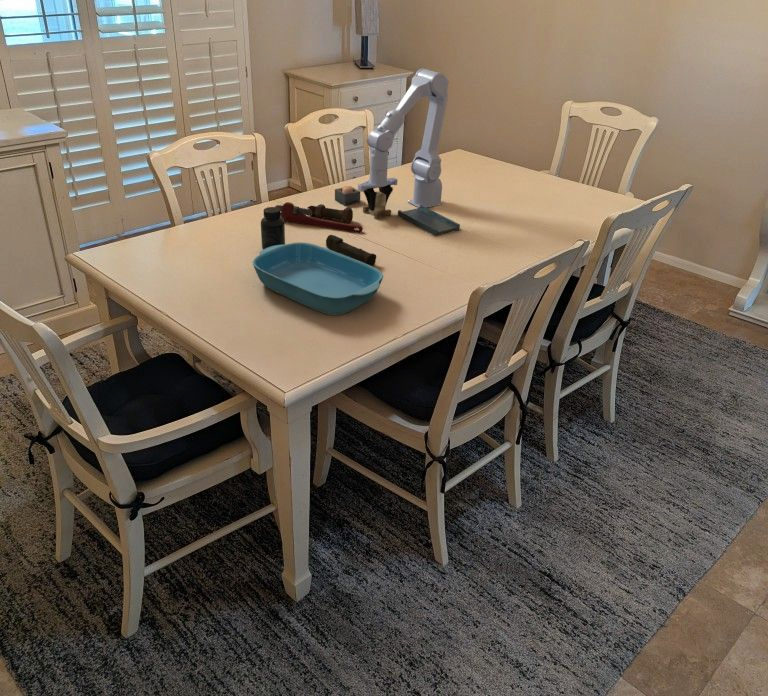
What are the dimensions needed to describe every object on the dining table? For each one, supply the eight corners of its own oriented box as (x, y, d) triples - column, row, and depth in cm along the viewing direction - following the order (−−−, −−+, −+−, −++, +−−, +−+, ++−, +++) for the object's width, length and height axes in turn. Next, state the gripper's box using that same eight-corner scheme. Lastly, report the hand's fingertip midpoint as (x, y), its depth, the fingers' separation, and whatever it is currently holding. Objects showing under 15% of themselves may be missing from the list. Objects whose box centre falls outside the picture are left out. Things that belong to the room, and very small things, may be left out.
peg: (378, 211, 232) (379, 191, 229) (385, 214, 230) (386, 194, 226) (368, 213, 230) (369, 193, 227) (375, 217, 228) (376, 196, 224)
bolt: (310, 220, 228) (351, 226, 223) (303, 217, 223) (345, 223, 218) (313, 202, 228) (354, 209, 223) (306, 199, 223) (348, 205, 218)
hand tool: (377, 265, 196) (377, 250, 194) (366, 269, 193) (367, 254, 191) (333, 245, 207) (333, 230, 205) (323, 248, 205) (323, 234, 202)
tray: (421, 210, 234) (421, 205, 233) (459, 230, 221) (460, 224, 220) (397, 216, 229) (397, 210, 228) (435, 236, 216) (436, 230, 215)
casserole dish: (398, 298, 179) (400, 273, 176) (343, 330, 164) (343, 304, 160) (296, 258, 198) (295, 235, 194) (237, 284, 182) (235, 259, 179)
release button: (348, 196, 241) (349, 185, 239) (354, 199, 238) (354, 188, 236) (340, 198, 239) (340, 187, 237) (345, 201, 237) (346, 190, 234)
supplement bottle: (270, 242, 206) (268, 203, 200) (289, 246, 204) (288, 208, 198) (257, 250, 201) (255, 211, 195) (276, 255, 199) (275, 215, 192)
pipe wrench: (360, 236, 215) (272, 221, 221) (363, 233, 217) (275, 218, 223) (361, 216, 212) (271, 201, 218) (363, 213, 214) (274, 199, 220)
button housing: (350, 197, 243) (350, 186, 241) (360, 202, 239) (360, 191, 237) (334, 200, 240) (334, 189, 238) (344, 205, 235) (344, 194, 233)
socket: (377, 208, 234) (377, 203, 233) (390, 216, 229) (391, 210, 228) (362, 211, 231) (363, 206, 230) (376, 219, 226) (376, 213, 225)
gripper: (389, 162, 228) (387, 201, 235) (353, 168, 221) (352, 208, 228) (402, 167, 224) (399, 207, 231) (365, 174, 216) (364, 215, 223)
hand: (377, 208), depth 229 cm, fingers closed on peg, 4 cm apart
